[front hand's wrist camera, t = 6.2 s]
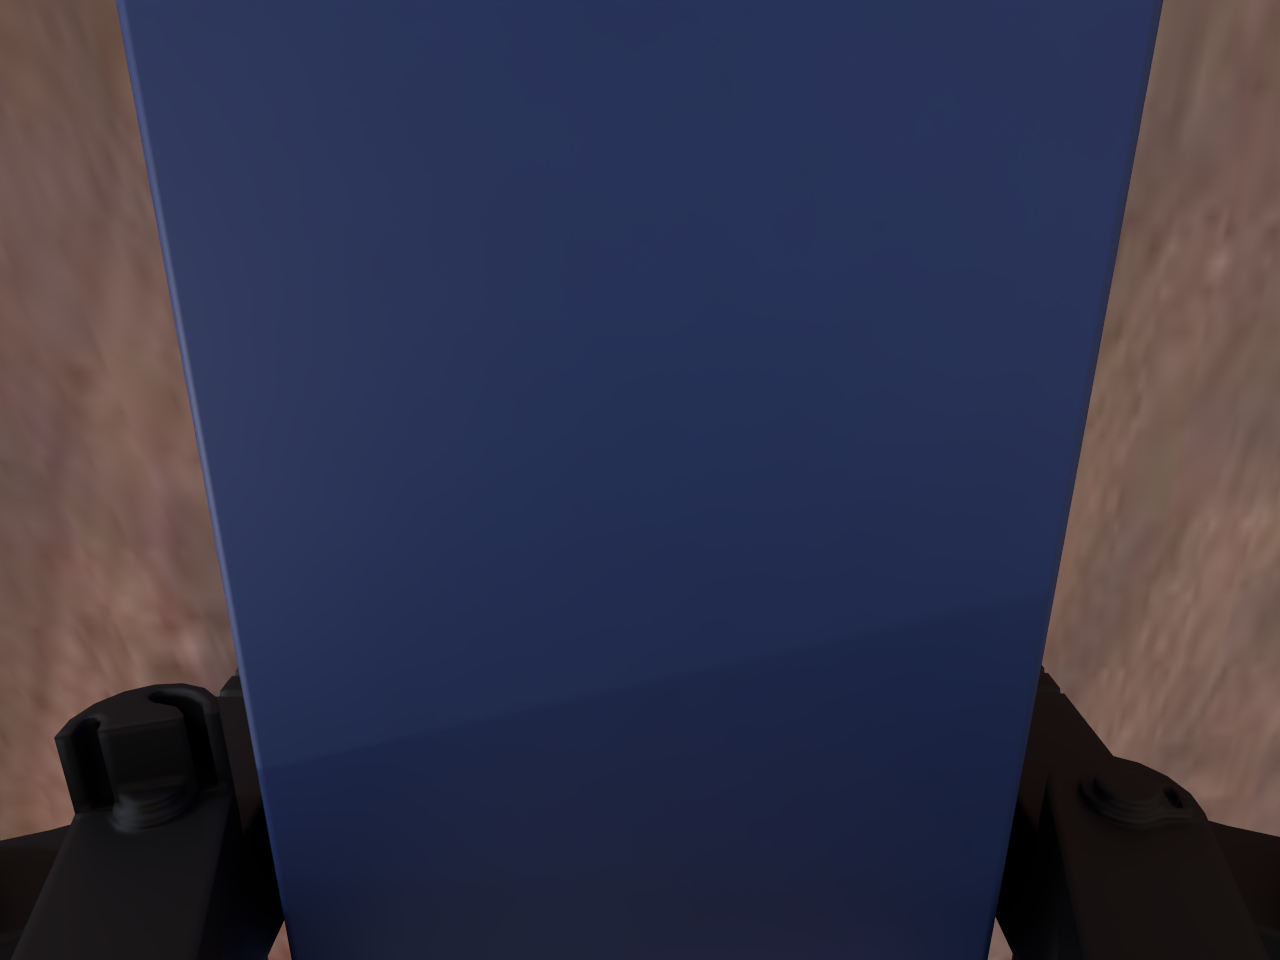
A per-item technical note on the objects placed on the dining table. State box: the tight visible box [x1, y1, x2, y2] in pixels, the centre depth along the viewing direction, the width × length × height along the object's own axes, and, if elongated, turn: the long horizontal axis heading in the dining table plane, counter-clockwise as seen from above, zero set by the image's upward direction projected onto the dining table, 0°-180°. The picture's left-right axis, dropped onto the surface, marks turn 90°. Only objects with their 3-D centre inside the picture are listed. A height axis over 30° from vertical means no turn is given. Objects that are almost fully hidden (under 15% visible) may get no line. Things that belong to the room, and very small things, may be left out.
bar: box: [116, 0, 1163, 960], centre depth 8 cm, size 22×6×8 cm, turn 0°
